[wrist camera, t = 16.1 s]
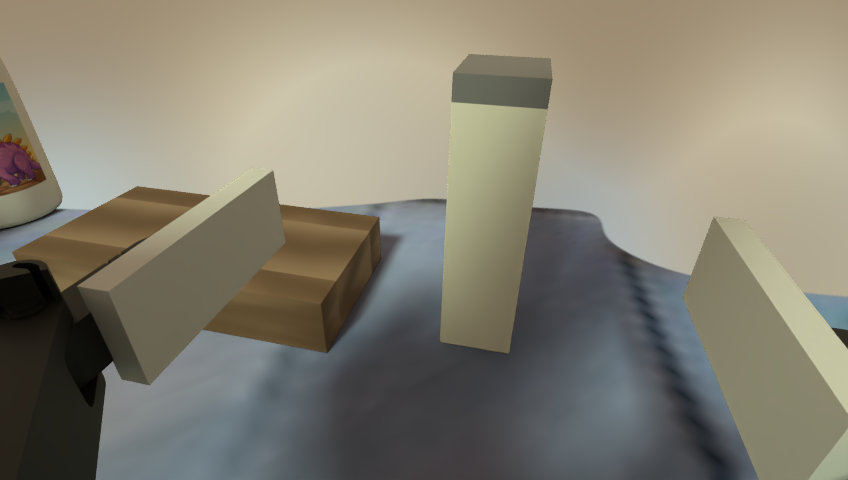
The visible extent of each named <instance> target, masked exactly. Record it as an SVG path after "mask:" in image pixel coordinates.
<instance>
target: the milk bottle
mask: <svg viewBox="0 0 848 480" xmlns="http://www.w3.org/2000/svg"><path fill="white" fill-rule="evenodd" d="M61 202H62V193H61V190H60V187H59V185H58V182H57V180H56V178H55V175H54V173H53V171H52V168H51V166H50V164H49V161H48V159H47V157H46V154H45V152H44V150H43V148H42V146H41V143H40V141H39V138H38V136H37V134H36V132H35V129H34V127H33V125H32V122H31V120H30V118H29V116H28V113H27V111H26V109H25V107H24V105H23V102H22V100H21V98H20V96H19V93H18V91H17V89H16V87H15V85H14V83H13V81H12V79H11V77H10V75H9V73H8V70H7V69H6V67H5V65H4V64H3V62H2V60H1V58H0V229H2V228H8V227H12V226H16V225H20V224H23V223H26V222H30V221H33V220H35V219H38V218H40V217H42V216H44V215H46V214H49V213H50V212H52V211H53V210H55V209H56V208H57V207H58V206H59V205H60V204H61Z"/></svg>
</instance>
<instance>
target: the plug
mask: <svg viewBox="0 0 848 480" xmlns="http://www.w3.org/2000/svg"><path fill="white" fill-rule="evenodd" d="M551 85H552V70H551V60H550V59H548V58H530V57H512V56H511V57H510V56H492V55H475V54H474V55H473V54H469V55H468V56H467V58H466V59H465V60H464V61H463V62H462V63H461V64H460V65H459V66H458V68H457V69H456V70H455V71H454V72H453V83H452V105H451V125H450V145H449V165H448V186H447V187H448V188H447V206H446V227H445V247H444V268H443V288H442V309H441V329H440V342H444V343H450V344H456V345H461V346H467V347H473V348H479V349H485V350H491V351H496V352H502V353H508V354H509V350H510V344H511V338H512V331H513V325H514V319H515V312H516V306H517V300H518V293H519V287H520V281H521V274H522V268H523V262H524V255H525V249H526V243H527V236H528V230H529V224H530V217H531V211H532V205H533V198H534V192H535V186H536V179H537V173H538V167H539V160H540V154H541V148H542V141H543V135H544V129H545V122H546V116H547V110H548V103H549V97H550V91H551Z"/></svg>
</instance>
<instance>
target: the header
mask: <svg viewBox="0 0 848 480" xmlns="http://www.w3.org/2000/svg"><path fill="white" fill-rule="evenodd" d="M208 197H209V195H202V194H194V193H186V192H178V191H170V190H162V189H154V188H146V187H138V186H137V187H135V188H133V189H131V190H129V191H128V192H126V193H124V194H122V195H120V196H118V197H116V198H114V199H112V200H110V201H109V202H107V203H105V204H103V205H101V206H99V207H97V208H95V209H93V210H91V211H89V212H88V213H86V214H84V215H82V216H80V217H78V218H76V219H74V220H72V221H70V222H69V223H67V224H65V225H63V226H61V227H59V228H57V229H55V230H53V231H51V232H50V233H48V234H46V235H44V236H42V237H40V238H38V239H36V240H34V241H32V242H31V243H29V244H27V245H25V246H23V247H21V248H19V249H17V250H15V251H13V252H12V253H13V255H14V257H15V259H16V260H17V261H20V260H28V259H31V260H41V261H43V262H44V263H46V264H47V266H48V268H49V269H50V271H51V273H52V275H53V277H54V279H55V281H56V283H57V285H58V287H59V289H60V291H61V292H62V291H63V290H65V289H66V288H68V287H69V286H71V285H72V284H74V283H75V282H77V281H78V280H80V279H81V278H83V277H85V276H86V275H88V274H89V273H91V272H92V271H94V270H95V269H97V268H98V267H100V266H101V265H103V264H104V263H108V261H109V260H110V259H112V258H113V257H115V256H116V255H118V254H119V255H120V254H121V252H122V251H124V250H125V249H127V248H128V247H130V246H131V245H133V244H134V243H136V242H137V241H140V240H142V239H144V238H147V237H149V236H152V235H153V234H155V233H156V232H158V231H159V230H161V229H162V228H164V227H165V226H167V225H168V224H169V223H171V222H172V221H174V220H175V219H177V218H178V217H180V216H181V215H183V214H184V213H186V212H187V211H189V210H190V209H192V208H193V207H195V206H196V205H198V204H199V203H201V202H202V201H204V200H205V199H207V198H208ZM279 207H280V212H281V218H282V224H283V230H284V236H285V241H286V242H285V243H284V244H283V246H282V247H281V248H280V249H279V250H278V251H277V252H276V253H275V254H274V255H273V256H272V257H271V258H270V259H269V260H268V261H267V262H266V263H265V264H264V265H263V266H262V268H261V269H260V270H259V271H258V272H257V273H256V274H255V275H254V276H253V277H252V278H251V279H250V280H249V281H248V282H247V283H246V284H245V285H244V286H243V287H242V289H241V290H240V291H239V292H238V293H237V294H236V295H235V296H234V297H233V298H232V299H231V300H230V301H229V302H228V303H227V304H226V305H225V306H224V307H223V308H222V310H221V311H220V312H219V313H218V314H217V315H216V316H215V317H214V318H213V319H212V320H211V321H210V322H209V323H208V324H207V325H206V326H205V327H204V328H203V330H209V331H214V332H219V333H225V334H230V335H235V336H240V337H246V338H251V339H256V340H262V341H267V342H272V343H277V344H283V345H288V346H293V347H299V348H304V349H309V350H315V351H320V352H325V353H327V352H328V350H329V348H330V346H331V345H332V343H333V341H334V339H335V338H336V336H337V334H338V332H339V331H340V329H341V327H342V325H343V324H344V322H345V320H346V318H347V317H348V315H349V313H350V311H351V310H352V308H353V306H354V304H355V303H356V301H357V299H358V297H359V296H360V294H361V292H362V290H363V289H364V287H365V285H366V283H367V282H368V280H369V278H370V276H371V275H372V273H373V271H374V269H375V268H376V266H377V264H378V262H379V261H380V259H381V249H380V222H379V217H375V216H367V215H359V214H351V213H343V212H335V211H328V210H320V209H312V208H304V207H296V206H288V205H280V204H279Z"/></svg>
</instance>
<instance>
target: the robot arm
mask: <svg viewBox="0 0 848 480" xmlns="http://www.w3.org/2000/svg"><path fill="white" fill-rule="evenodd" d="M285 242H286V241H285V236H284V230H283V224H282V218H281V212H280V207H279V201H278V195H277V189H276V184H275V178H274V172H273V170H268V169H258V168H251V169H249V170H248V171H246V172H245V173H244V174H242V175H241V176H239V177H238V178H236V179H235V180H233V181H232V182H231V183H229V184H227V185H226V186H224V187H223V188H221V189H220V190H218V191H217V192H216V193H214V194H212V195H211V196H209V197H208V198H207V199H205V200H204V201H202V202H201V203H199V204H198V205H196V206H195V207H193V208H192V209H190V210H189V211H187V212H186V213H184V214H183V215H181V216H180V217H178V218H177V219H175V220H174V221H172V222H171V223H169V224H168V225H167V226H165V227H164V228H162V229H161V230H159V231H158V232H156V233H155V234H153V235H152V236H149V237H147V238H144V239H142V240H140V241H137V242H136V243H134V244H133V245H131V246H130V247H128V248H127V249H125V250H124V251H122V252H121V254H120V255H119V254H118V255H116V256H115V257H113V258H112V259H110V260H109V261H108V263H104V264H103V265H101V266H100V267H98V268H97V269H95V270H94V271H92V272H91V273H89V274H88V275H86V276H85V277H83V278H81V279H80V280H78V281H77V282H75V283H74V284H72V285H71V286H69V287H68V288H66V289H65V290H63V291H62V292H61V291H60V289H59V287H58V285H57V283H56V281H55V279H54V277H53V275H52V273H51V271H50V269H49V268H48V266H47V264H46V263H44V262H43V261H41V260H31V259H28V260H20V261H14V262H10V263H6V264H2V265H0V480H95V478H96V469H97V460H98V451H99V442H100V432H101V423H102V414H103V405H104V396H105V387H106V382H105V378H104V376H103V374H102V372H101V371H102V370H104V369H105V368H106V367H107V366H108V365H109V364H110V363H111V362H112V361H113V362H114V364H115V366H116V369H117V371H118V373H119V375H120V377H121V379H123V380H128V381H132V382H137V383H141V384H146V385H150V384H151V383H152V382H153V381H154V380H155V379H156V378H157V377H158V376H159V375H160V374H161V372H162V371H163V370H164V369H165V368H166V367H167V366H168V365H169V364H170V363H171V362H172V361H173V360H174V359H175V358H176V357H177V356H178V355H179V354H180V353H181V352H182V350H183V349H184V348H185V347H186V346H187V345H188V344H189V343H190V342H191V341H192V340H193V339H194V338H195V337H196V336H197V335H198V334H199V333H200V332H201V331H202V329H203V328H204V327H205V326H206V325H207V324H208V323H209V322H210V321H211V320H212V319H213V318H214V317H215V316H216V315H217V314H218V313H219V312H220V311H221V310H222V308H223V307H224V306H225V305H226V304H227V303H228V302H229V301H230V300H231V299H232V298H233V297H234V296H235V295H236V294H237V293H238V292H239V291H240V290H241V289H242V287H243V286H244V285H245V284H246V283H247V282H248V281H249V280H250V279H251V278H252V277H253V276H254V275H255V274H256V273H257V272H258V271H259V270H260V269H261V268H262V266H263V265H264V264H265V263H266V262H267V261H268V260H269V259H270V258H271V257H272V256H273V255H274V254H275V253H276V252H277V251H278V250H279V249H280V248H281V247H282V246H283V244H284V243H285ZM683 299H684V302H685V304H686V306H687V309H688V311H689V314H690V316H691V318H692V321H693V323H694V326H695V328H696V330H697V333H698V335H699V338H700V340H701V342H702V345H703V347H704V349H705V352H706V354H707V357H708V359H709V361H710V364H711V366H712V369H713V371H714V373H715V376H716V378H717V381H718V383H719V385H720V388H721V390H722V393H723V395H724V397H725V400H726V402H727V404H728V407H729V409H730V412H731V414H732V416H733V419H734V421H735V424H736V426H737V428H738V431H739V433H740V436H741V438H742V440H743V443H744V445H745V448H746V450H747V452H748V455H749V457H750V459H751V462H752V464H753V467H754V469H755V471H756V474H757V476H758V479H759V480H848V330H844V329H837V328H831V327H830V326H829V325H828V324H827V322H826V321H825V320H824V319H823V317H822V316H821V315H820V314H819V312H818V311H817V310H816V309H815V307H814V306H813V305H812V304H811V302H810V301H809V300H808V299H807V297H806V296H805V295H804V294H803V292H802V291H801V290H800V288H799V287H798V286H797V285H796V284H795V282H794V281H793V280H792V278H791V277H790V276H789V275H788V274H787V272H786V271H785V270H784V268H783V267H782V266H781V265H780V263H779V262H778V261H777V260H776V258H775V257H774V256H773V255H772V253H771V252H770V251H769V250H768V248H767V247H766V246H765V245H764V244H763V242H762V241H761V240H760V238H759V237H758V236H757V235H756V233H755V232H754V231H753V229H752V228H751V227H750V226H749V224H748V223H747V222H746V221H745V220H739V219H730V218H719V217H714V218H713V220H712V223H711V225H710V228H709V231H708V233H707V236H706V238H705V241H704V243H703V246H702V248H701V251H700V254H699V256H698V259H697V261H696V264H695V267H694V269H693V272H692V274H691V277H690V279H689V282H688V284H687V287H686V290H685V292H684V295H683Z"/></svg>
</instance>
